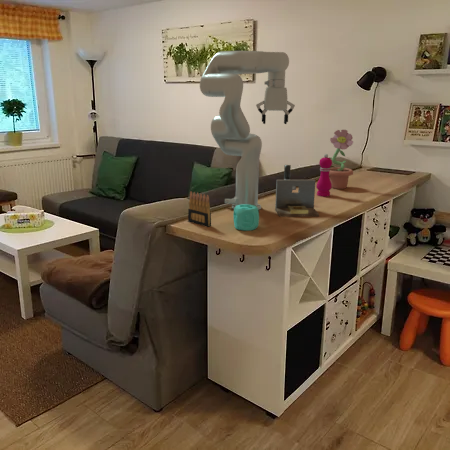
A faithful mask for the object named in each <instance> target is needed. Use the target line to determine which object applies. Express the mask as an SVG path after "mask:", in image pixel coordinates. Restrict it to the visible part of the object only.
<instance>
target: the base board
mask: <svg viewBox="0 0 450 450" xmlns="http://www.w3.org/2000/svg"><path fill="white" fill-rule="evenodd" d="M307 209H308V214H291V213H290V212H289V211H288V208H276V207H275V208H274V211H275V212H276V213H277V215H278V216H279V217H285V218H286V217H287V218H288V217H296V218H297V217H319V216H320V213H319V212H318V211H317V210H316V209H315V207H314V208H307Z"/></svg>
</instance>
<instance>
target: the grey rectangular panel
mask: <svg viewBox="0 0 450 450" xmlns="http://www.w3.org/2000/svg"><path fill="white" fill-rule="evenodd" d="M293 186H296V187H298V192H295V191H294V192H293V190H292V187H293ZM315 193H316V180H315V179H290V180H284V179H276V184H275V207H276V208H288V206H305V207H306V208H314V209H315Z"/></svg>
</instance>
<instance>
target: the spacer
mask: <svg viewBox="0 0 450 450" xmlns="http://www.w3.org/2000/svg"><path fill="white" fill-rule="evenodd" d="M288 211H289V212H290V213H291V214H308V209H307V208H306V207H305V206H288Z"/></svg>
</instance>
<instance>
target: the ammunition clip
mask: <svg viewBox="0 0 450 450" xmlns="http://www.w3.org/2000/svg"><path fill="white" fill-rule="evenodd" d="M188 200H189V201H188V211H187V213H188V214H187V218H188V219H187V222H189V223H192V224H196V225H199V226H203V227H206V228H208V227H209V228H210V227H211V226H212V213H211V206H210V205H211V204H210V196H209V195H208V194H205V193H203V194H202V193H199V192H198V191H197V193H196V191H190V192H189V199H188Z"/></svg>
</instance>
